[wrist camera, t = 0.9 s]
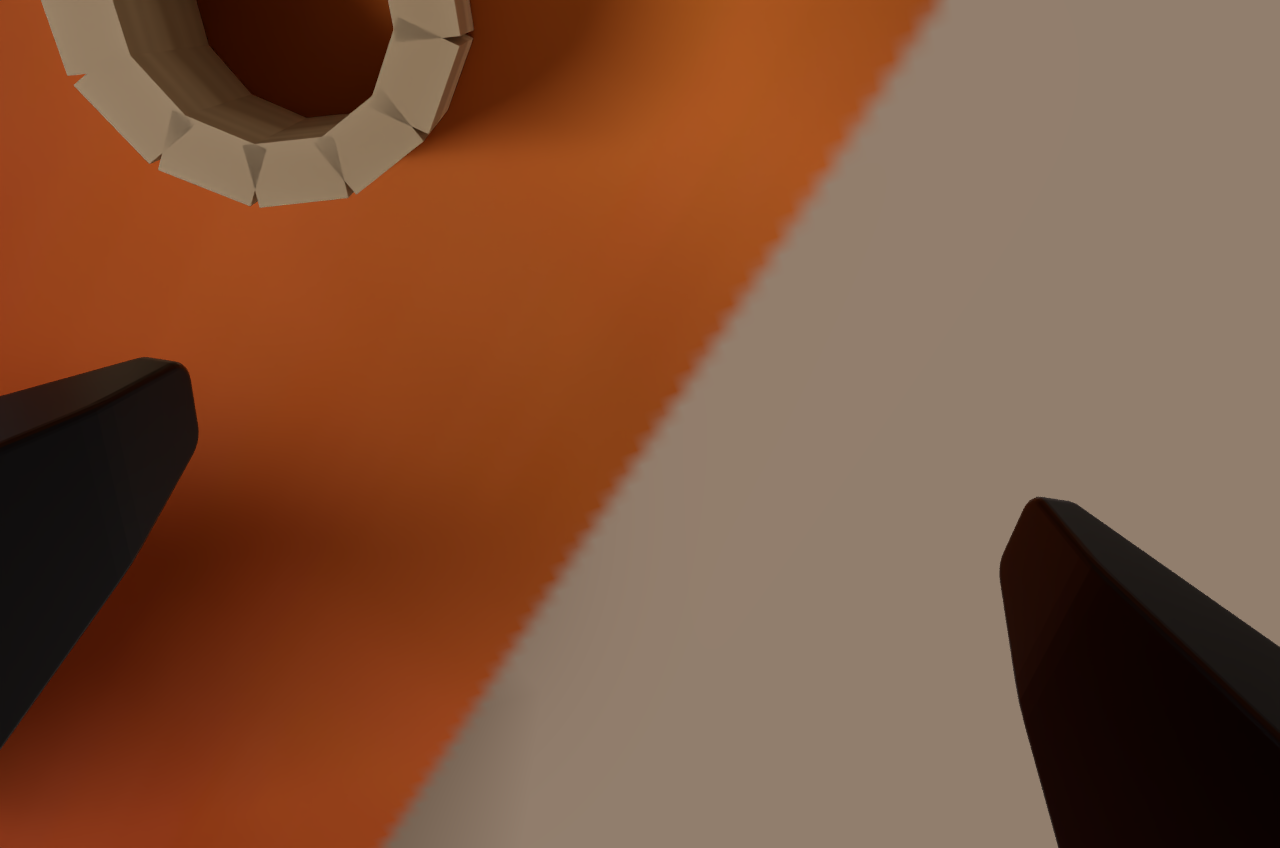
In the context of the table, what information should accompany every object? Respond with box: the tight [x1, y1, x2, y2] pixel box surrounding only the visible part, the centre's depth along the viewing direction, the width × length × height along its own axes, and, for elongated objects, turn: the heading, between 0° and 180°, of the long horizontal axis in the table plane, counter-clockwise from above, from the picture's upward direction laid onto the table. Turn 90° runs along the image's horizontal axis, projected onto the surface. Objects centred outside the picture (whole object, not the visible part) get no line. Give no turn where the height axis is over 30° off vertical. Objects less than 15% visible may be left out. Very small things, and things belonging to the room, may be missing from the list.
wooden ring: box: [41, 0, 474, 208], centre depth 16 cm, size 7×7×4 cm
